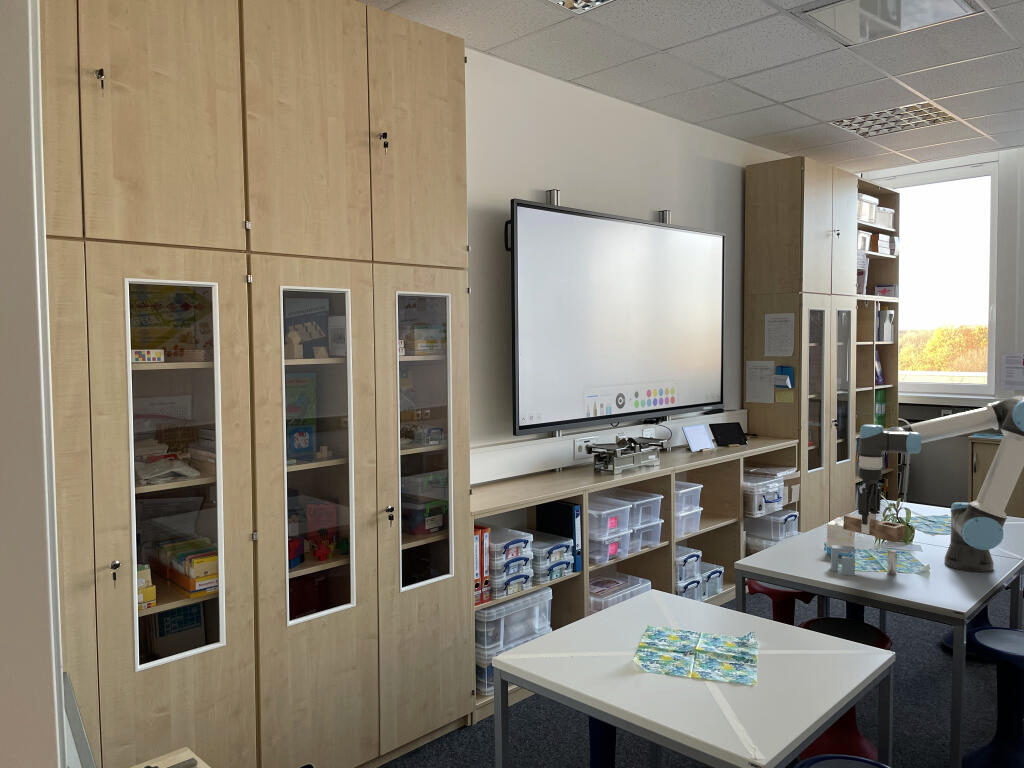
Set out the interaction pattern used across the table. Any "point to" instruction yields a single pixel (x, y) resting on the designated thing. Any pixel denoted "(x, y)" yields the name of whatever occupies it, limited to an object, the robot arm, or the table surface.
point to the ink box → (839, 536)
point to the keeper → (843, 560)
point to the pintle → (892, 562)
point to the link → (876, 528)
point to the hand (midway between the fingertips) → (868, 532)
